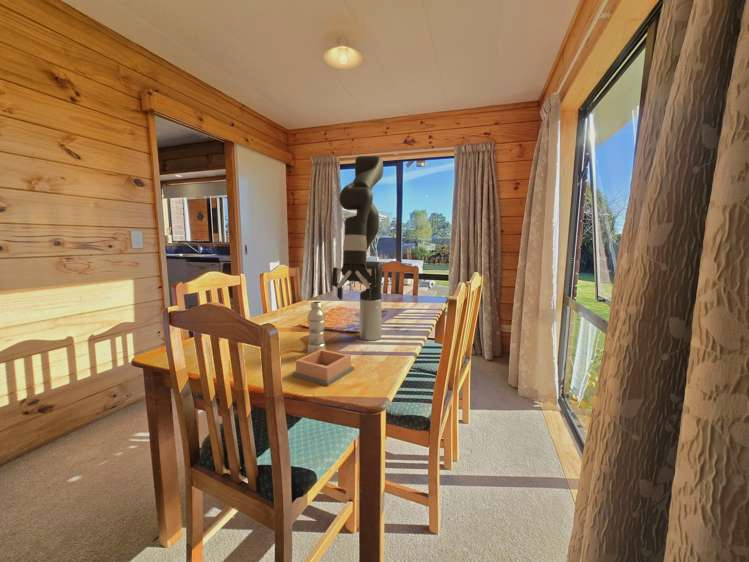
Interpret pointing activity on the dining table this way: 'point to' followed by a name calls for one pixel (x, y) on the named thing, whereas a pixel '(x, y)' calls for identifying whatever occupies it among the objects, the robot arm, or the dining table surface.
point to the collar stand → (323, 367)
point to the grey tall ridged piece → (316, 328)
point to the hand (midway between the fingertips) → (353, 300)
